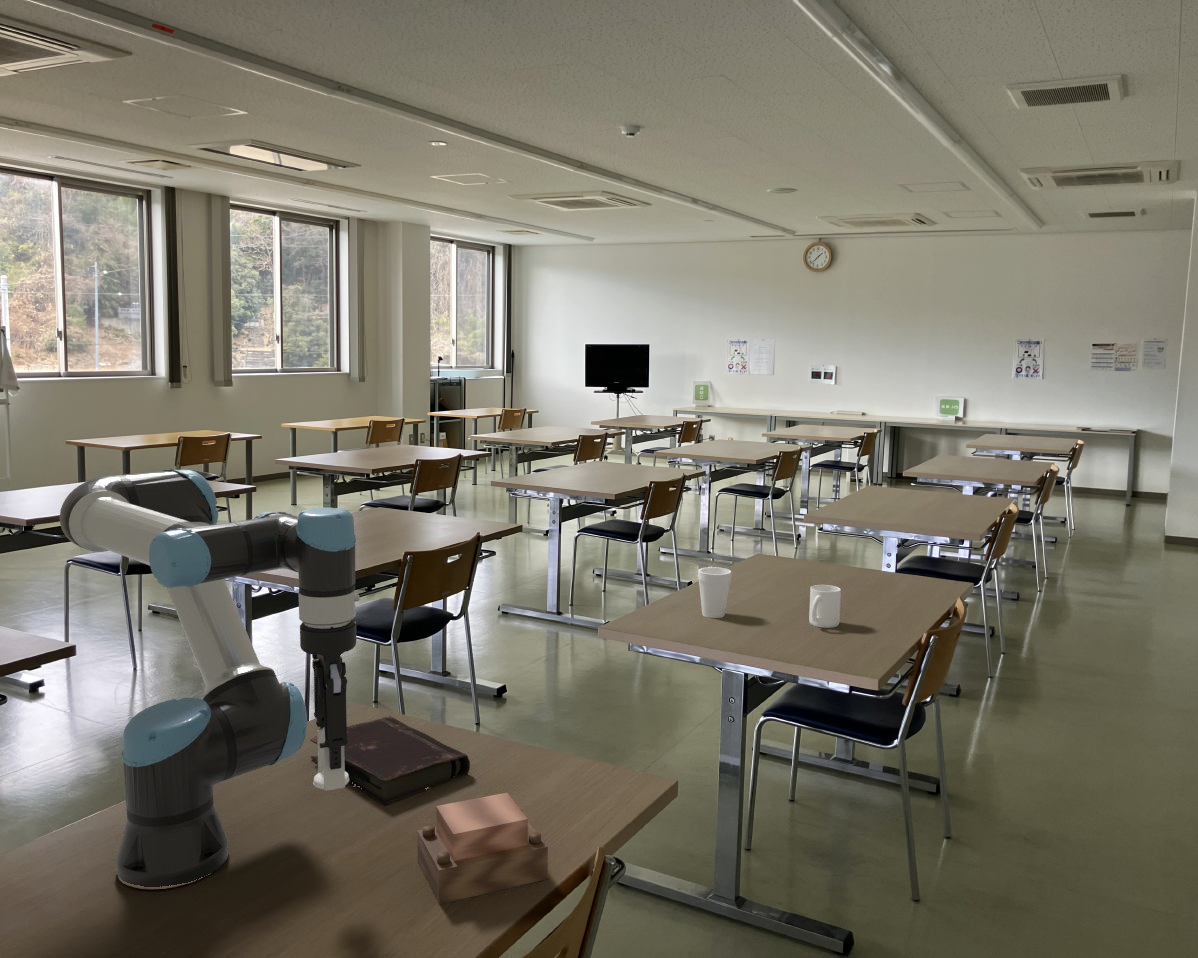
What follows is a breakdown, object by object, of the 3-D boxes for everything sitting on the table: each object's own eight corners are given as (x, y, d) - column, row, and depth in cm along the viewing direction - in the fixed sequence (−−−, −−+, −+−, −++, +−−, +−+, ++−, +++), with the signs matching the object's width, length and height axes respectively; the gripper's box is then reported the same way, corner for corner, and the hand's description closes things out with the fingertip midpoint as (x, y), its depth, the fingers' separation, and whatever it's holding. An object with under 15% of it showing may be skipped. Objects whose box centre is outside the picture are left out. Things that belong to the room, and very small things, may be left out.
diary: (393, 737, 190) (393, 712, 190) (470, 778, 173) (470, 751, 172) (306, 763, 177) (305, 737, 177) (379, 810, 160) (379, 781, 159)
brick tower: (439, 904, 132) (438, 842, 131) (417, 861, 143) (416, 804, 142) (547, 878, 139) (547, 820, 138) (519, 839, 150) (519, 785, 149)
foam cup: (695, 618, 274) (697, 573, 272) (698, 609, 283) (699, 566, 281) (729, 620, 272) (731, 575, 270) (730, 611, 281) (732, 568, 279)
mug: (825, 633, 261) (827, 596, 260) (797, 627, 266) (799, 591, 265) (844, 623, 270) (845, 587, 269) (816, 618, 275) (818, 583, 274)
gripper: (368, 636, 127) (370, 802, 130) (344, 601, 143) (346, 750, 146) (309, 642, 123) (313, 812, 127) (291, 606, 140) (295, 758, 143)
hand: (331, 779), depth 136 cm, fingers closed on chess piece, 5 cm apart
